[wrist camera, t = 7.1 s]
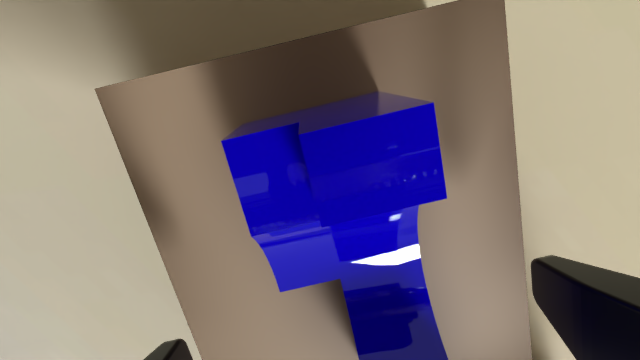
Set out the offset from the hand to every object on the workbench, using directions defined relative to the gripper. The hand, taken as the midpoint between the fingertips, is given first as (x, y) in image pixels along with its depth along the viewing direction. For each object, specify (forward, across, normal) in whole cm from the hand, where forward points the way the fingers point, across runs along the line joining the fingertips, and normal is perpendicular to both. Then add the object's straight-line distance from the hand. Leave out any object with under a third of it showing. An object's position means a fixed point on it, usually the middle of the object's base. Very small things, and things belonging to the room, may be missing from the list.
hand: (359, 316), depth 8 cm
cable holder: (+3, 0, 0) cm, 3 cm away
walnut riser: (+8, 0, 0) cm, 8 cm away
